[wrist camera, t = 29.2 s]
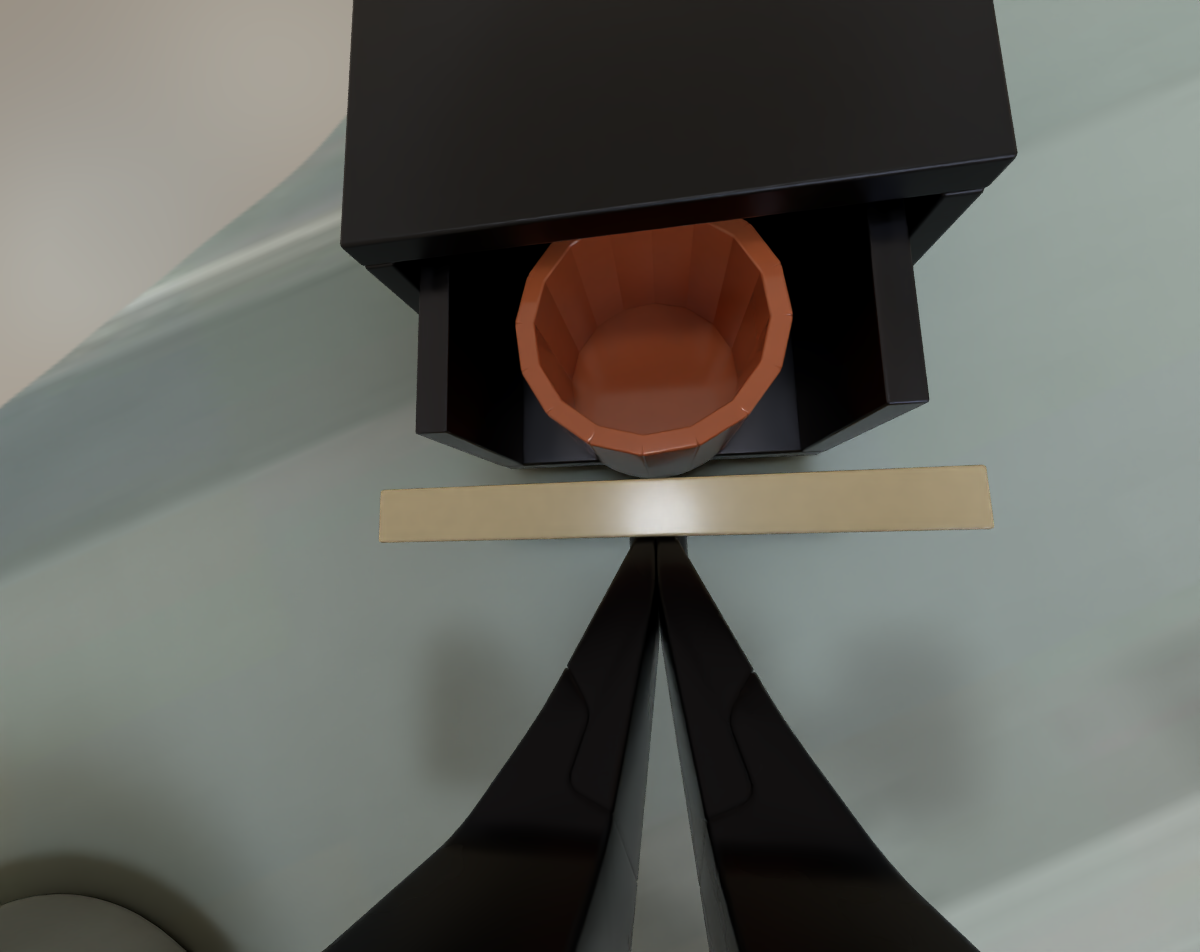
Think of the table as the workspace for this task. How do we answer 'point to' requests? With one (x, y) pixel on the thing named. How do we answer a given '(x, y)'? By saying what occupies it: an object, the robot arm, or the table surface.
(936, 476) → the drawer
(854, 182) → the black rectangular box
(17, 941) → the cake pan
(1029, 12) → the table surface
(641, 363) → the ramekin
